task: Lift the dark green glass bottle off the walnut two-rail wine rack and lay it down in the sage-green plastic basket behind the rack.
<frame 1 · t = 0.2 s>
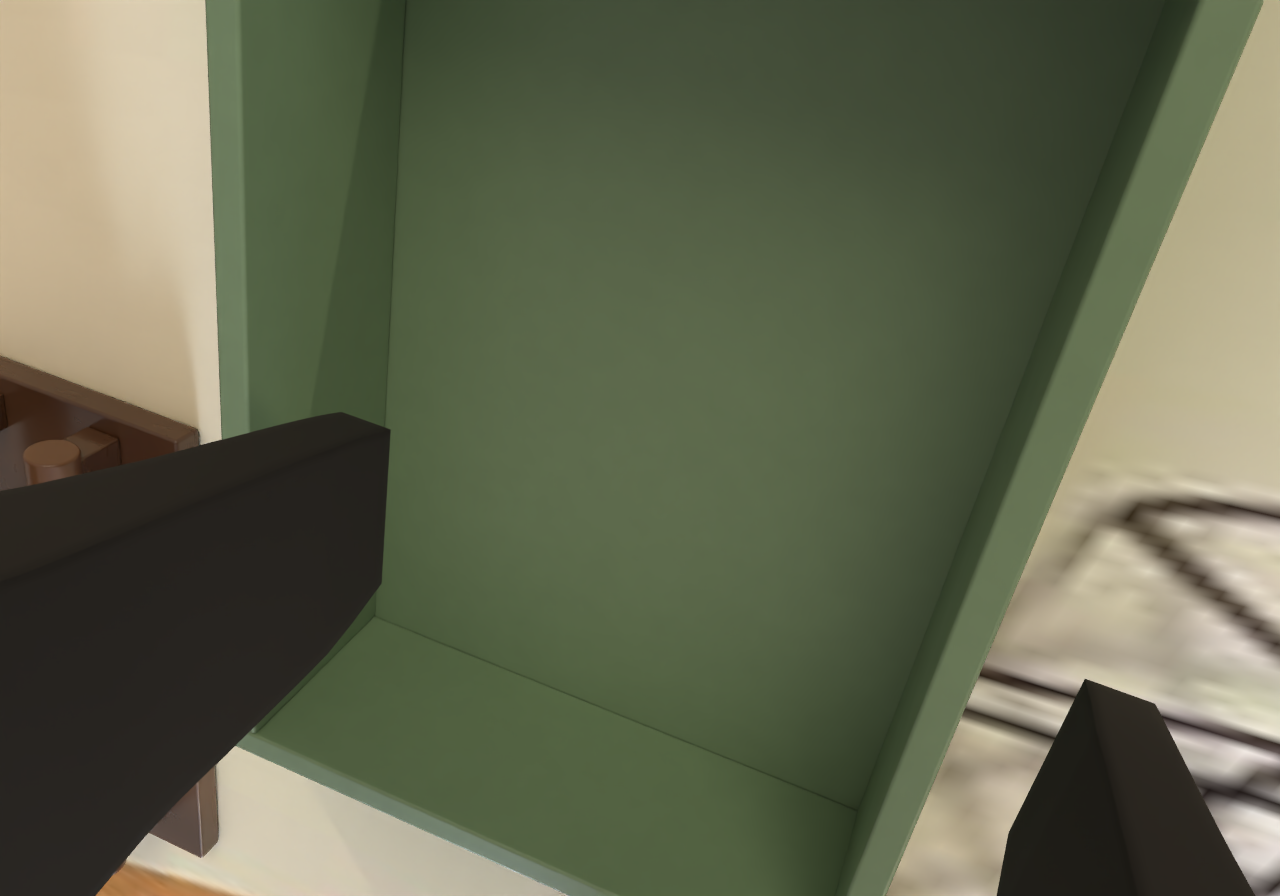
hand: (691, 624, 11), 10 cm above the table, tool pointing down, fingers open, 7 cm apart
basket: (678, 366, 21), on the table
rack: (95, 610, 31), on the table
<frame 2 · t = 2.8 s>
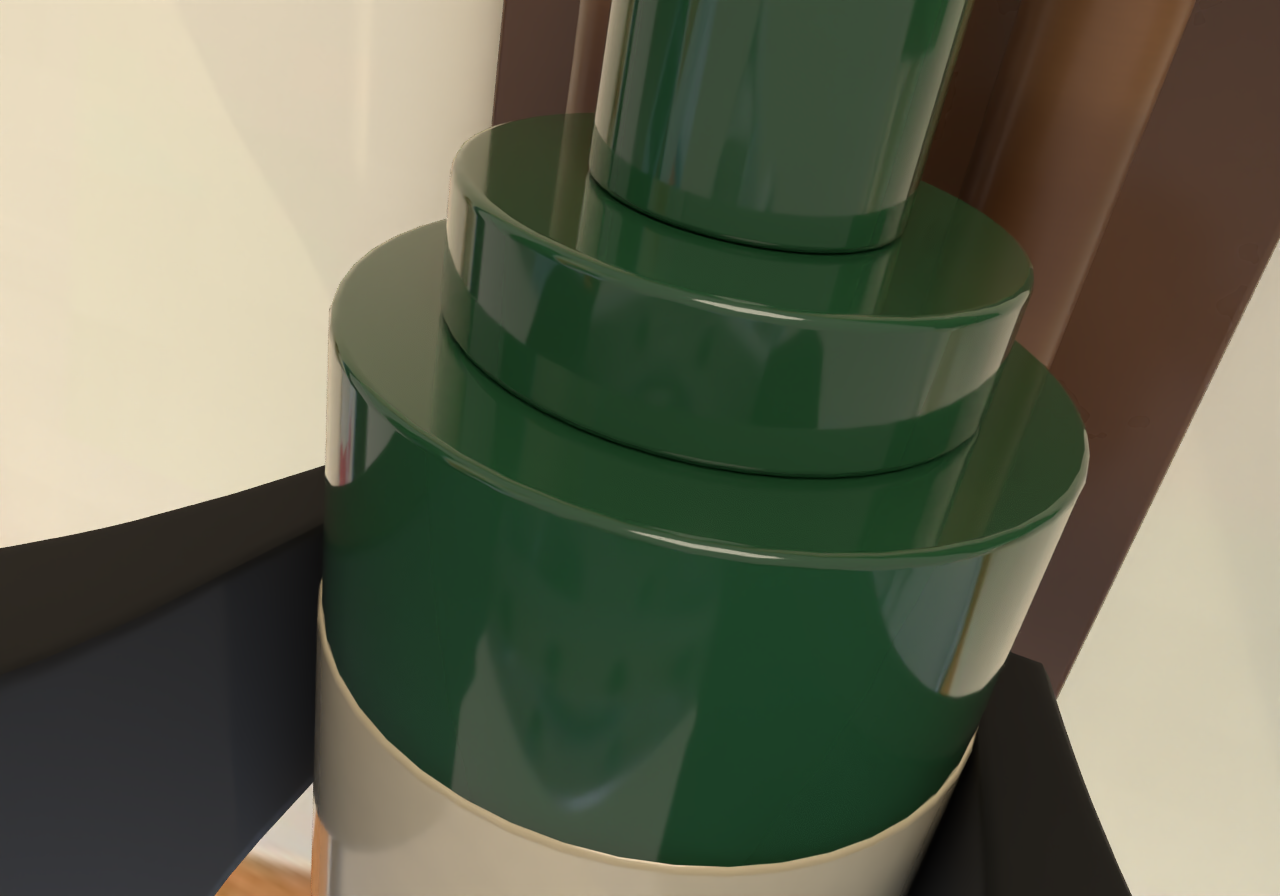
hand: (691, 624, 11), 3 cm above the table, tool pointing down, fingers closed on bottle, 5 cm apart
bottle: (704, 622, 12), point 2 cm above the table, touching gripper, rack
rack: (788, 417, 13), on the table
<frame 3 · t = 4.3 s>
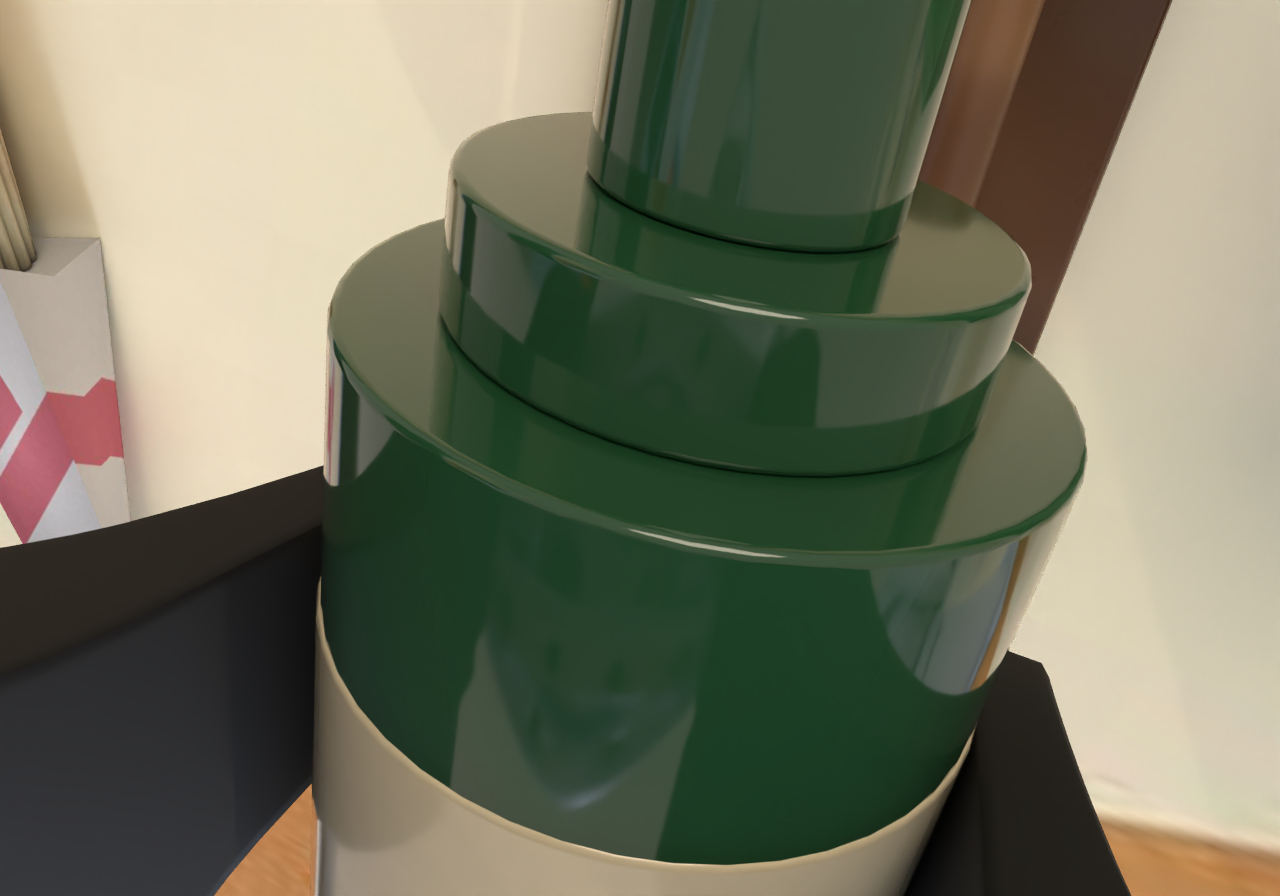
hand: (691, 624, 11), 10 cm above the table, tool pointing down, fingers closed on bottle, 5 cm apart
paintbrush: (40, 223, 26), on the table
bottle: (702, 622, 12), point 9 cm above the table, touching gripper
rack: (804, 292, 20), on the table
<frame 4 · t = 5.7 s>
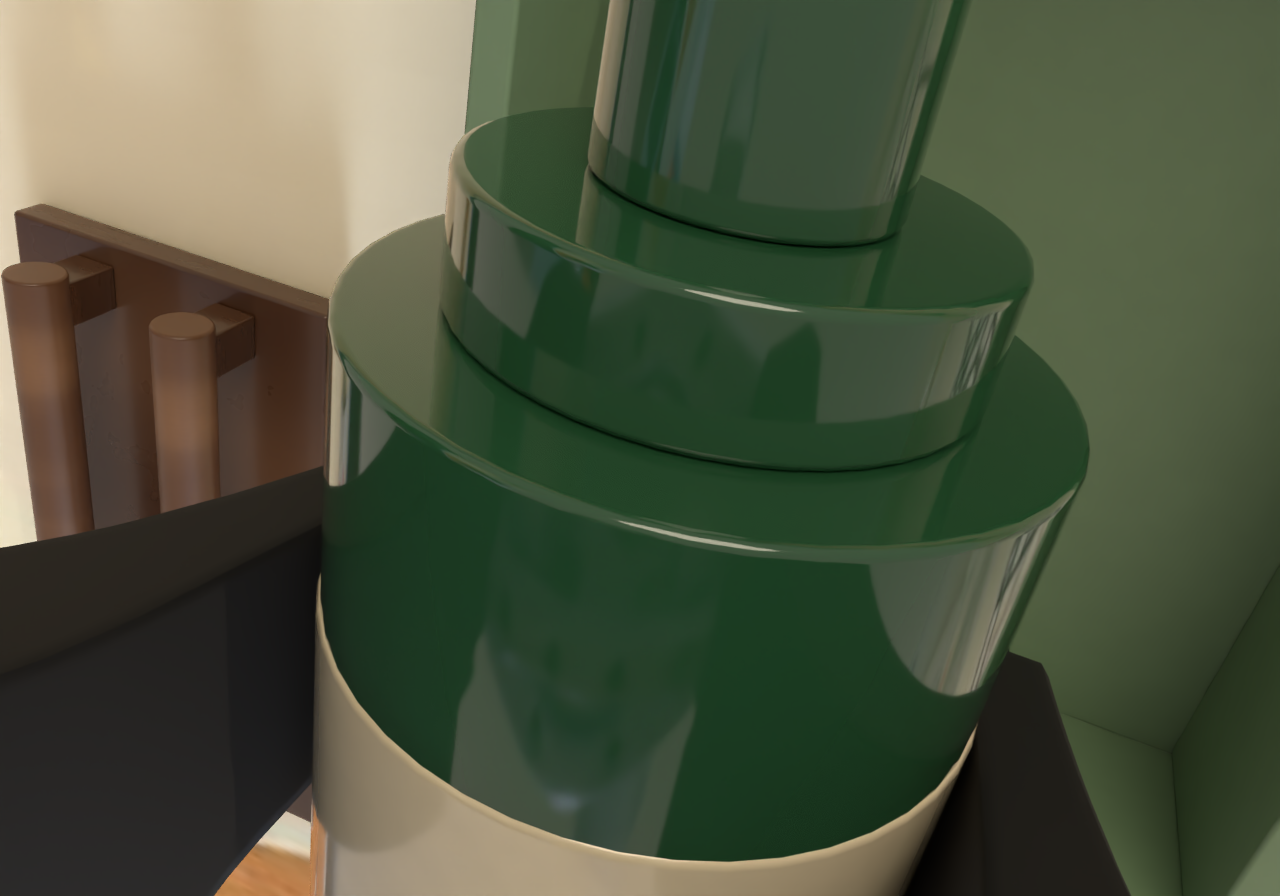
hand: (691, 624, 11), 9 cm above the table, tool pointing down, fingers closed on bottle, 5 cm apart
basket: (994, 193, 17), on the table
bottle: (703, 619, 12), point 8 cm above the table, touching gripper
rack: (201, 534, 27), on the table
when the fingers open (2 cm above the table, at t = 8.6 s): bottle stays where it is, resting on basket.
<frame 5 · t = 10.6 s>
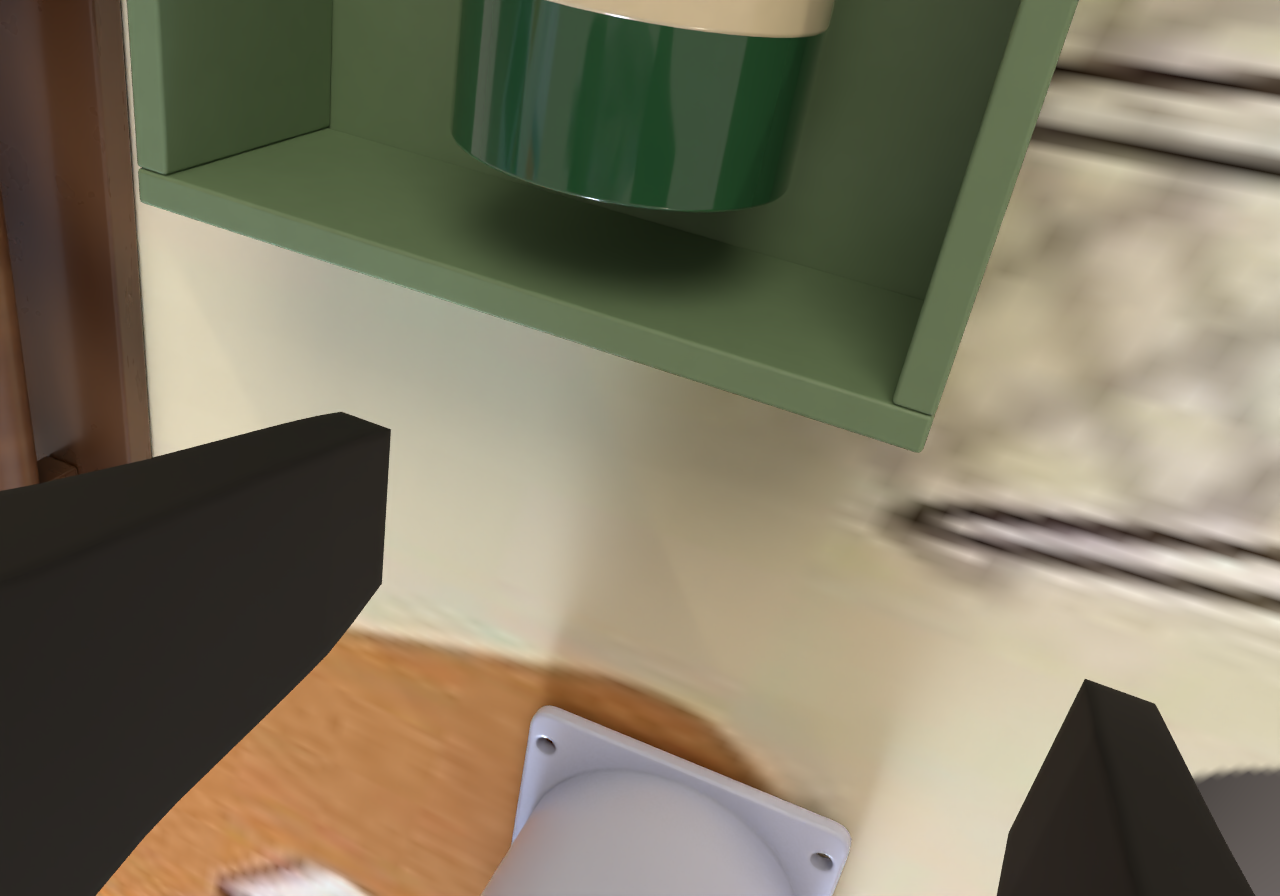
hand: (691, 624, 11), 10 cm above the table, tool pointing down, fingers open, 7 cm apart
rack: (4, 212, 26), on the table
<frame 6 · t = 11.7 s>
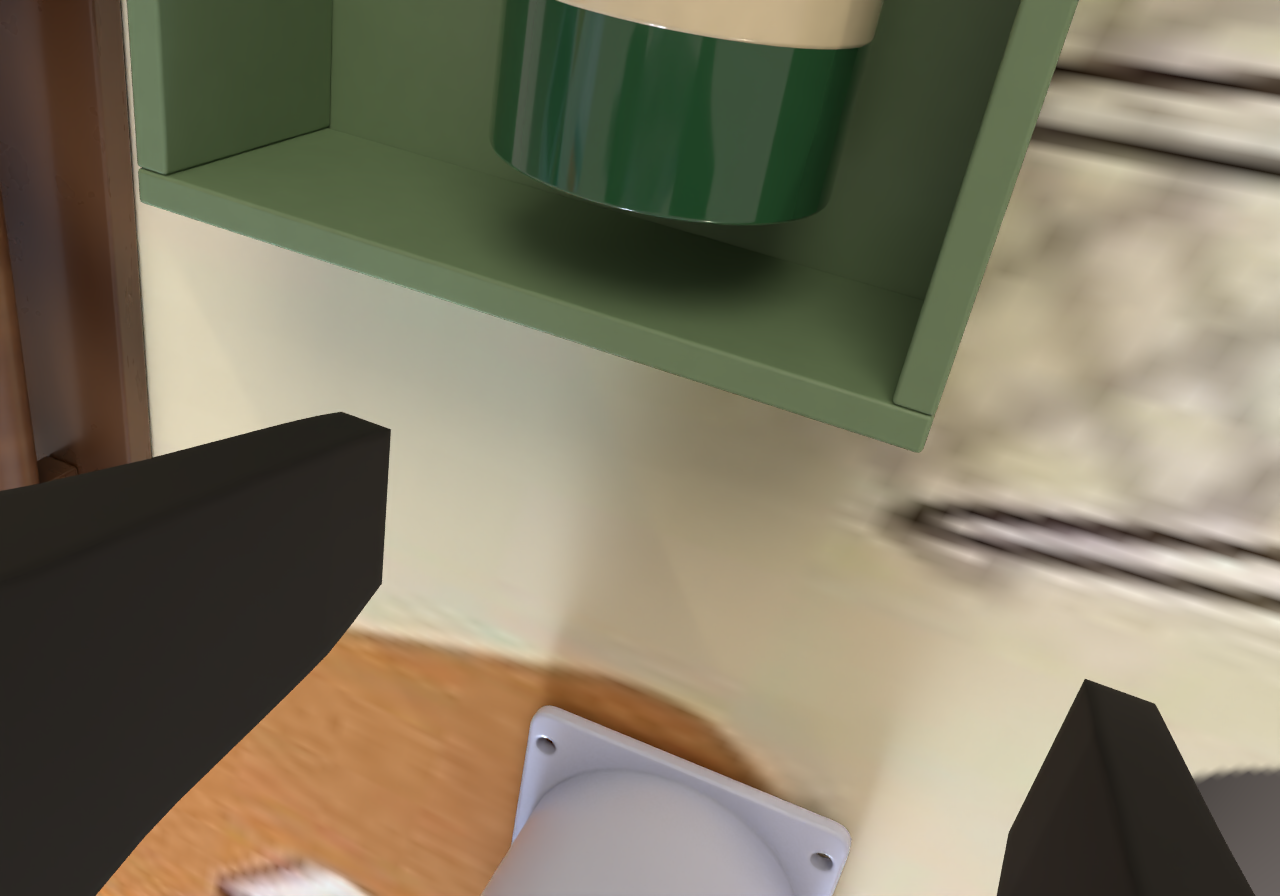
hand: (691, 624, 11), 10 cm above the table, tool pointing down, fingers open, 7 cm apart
rack: (4, 212, 26), on the table
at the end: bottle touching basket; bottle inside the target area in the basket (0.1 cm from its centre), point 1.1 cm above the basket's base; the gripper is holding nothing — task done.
